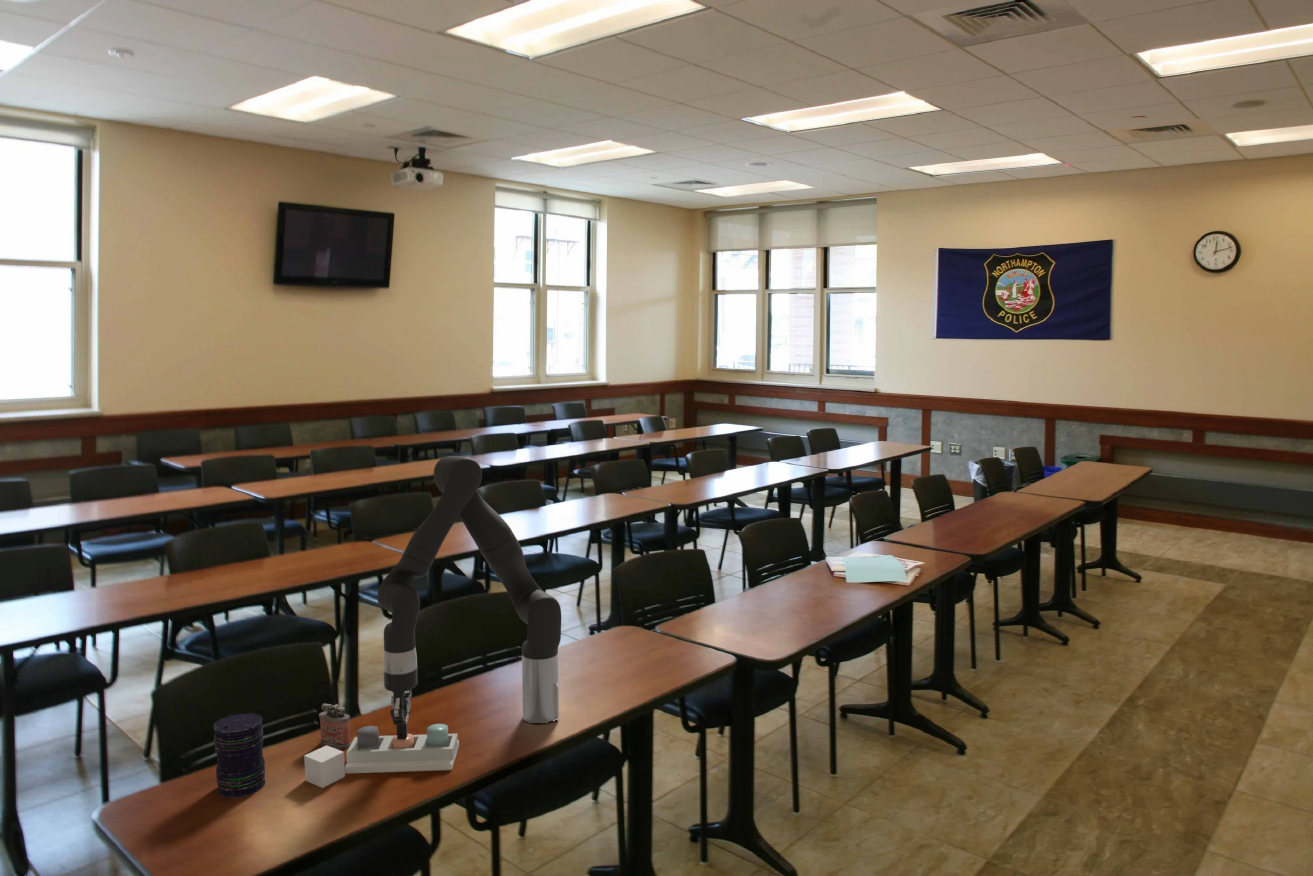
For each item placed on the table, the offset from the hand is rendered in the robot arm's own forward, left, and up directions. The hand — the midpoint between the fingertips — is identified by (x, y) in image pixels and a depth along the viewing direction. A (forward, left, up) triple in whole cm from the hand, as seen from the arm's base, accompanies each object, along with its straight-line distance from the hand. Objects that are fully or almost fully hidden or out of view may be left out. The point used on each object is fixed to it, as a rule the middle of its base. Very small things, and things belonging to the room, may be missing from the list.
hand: (402, 737), depth 216 cm
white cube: (+16, +8, -6) cm, 19 cm away
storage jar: (+33, +10, -6) cm, 35 cm away
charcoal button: (+8, 0, -1) cm, 8 cm away
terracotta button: (0, 0, -3) cm, 3 cm away
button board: (0, 0, -5) cm, 5 cm away
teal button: (-8, 0, -1) cm, 8 cm away
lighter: (+18, -9, -6) cm, 21 cm away
